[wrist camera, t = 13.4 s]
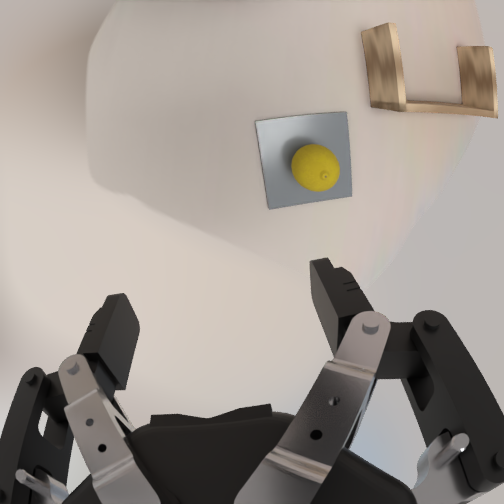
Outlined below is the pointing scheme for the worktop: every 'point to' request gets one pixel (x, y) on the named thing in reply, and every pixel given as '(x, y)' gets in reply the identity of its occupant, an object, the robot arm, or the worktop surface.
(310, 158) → the lemon
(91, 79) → the worktop surface
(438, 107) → the open u-shaped oak frame
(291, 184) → the slate coaster
